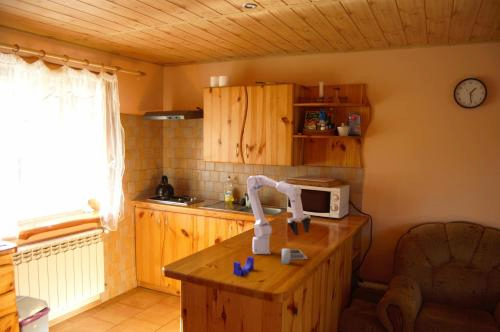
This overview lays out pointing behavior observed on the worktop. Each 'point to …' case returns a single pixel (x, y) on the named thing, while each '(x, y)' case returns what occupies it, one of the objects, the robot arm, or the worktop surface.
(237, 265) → the cable clip
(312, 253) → the worktop surface
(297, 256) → the grey square tray
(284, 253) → the cylinder
